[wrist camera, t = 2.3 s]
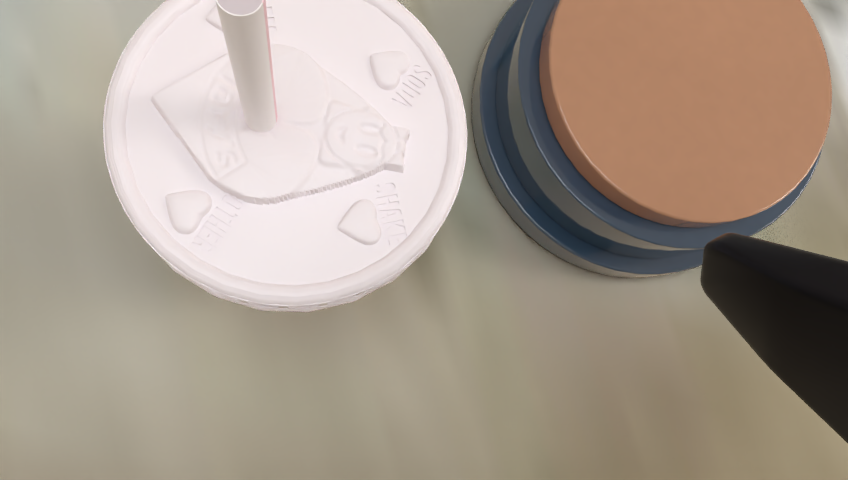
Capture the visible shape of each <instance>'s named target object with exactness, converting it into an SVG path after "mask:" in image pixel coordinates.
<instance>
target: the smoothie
mask: <svg viewBox="0 0 848 480" xmlns="http://www.w3.org/2000/svg"><path fill="white" fill-rule="evenodd" d="M103 142H104V150H105V157H106V162H107V166H108V171H109V175H110V178H111V181H112V184H113V186H114V189H115V192H116V195H117V197H118V199H119V201H120V203H121V205H122V207H123V209H124V211H125V213H126V214H127V216H128V217H129V219H130V221H131V222H132V224H133V225H134V227H135V228H136V229H137V231H138V232H139V233H140V235H141V236H142V237H143V238H144V240H145V241H146V242H147V243H148V244H149V245H150V246H151V247H152V248H153V249H154V250H155V251H156V252H157V254H158V255H159V256H160V257H161V258H162V259H163V260H164V261H165V262H166V263H167V264H168V265H169V266H170V267H171V269H172V270H173V271H174V272H176V273H177V274H179V275H181V276H182V277H184V278H185V279H187V280H189V281H190V282H192V283H194V284H195V285H197V286H198V287H200V288H202V289H203V290H205V291H206V292H208V293H210V294H211V295H213V296H215V297H217V298H221V299H224V300H227V301H231V302H234V303H237V304H241V305H244V306H247V307H251V308H254V309H257V310H261V311H287V312H312V311H316V310H320V309H325V308H329V307H333V306H338V305H342V304H346V303H351V302H354V301H356V300H358V299H360V298H362V297H364V296H366V295H368V294H370V293H371V292H373V291H375V290H377V289H379V288H381V287H383V286H385V285H387V284H388V283H390V282H392V281H394V280H395V279H396V278H397V277H398V276H399V275H400V274H401V273H403V272H404V271H405V270H406V269H407V268H408V267H409V266H410V265H411V264H412V263H413V262H414V261H415V260H416V259H417V258H419V257H420V256H421V255H422V254H423V253H424V252H425V251H426V250H427V248H428V246H429V245H430V243H431V241H432V240H433V238H434V237H435V235H436V233H437V232H438V230H439V229H440V227H441V226H442V224H443V223H444V221H445V219H446V217H447V216H448V214H449V212H450V210H451V208H452V206H453V203H454V201H455V199H456V196H457V194H458V191H459V187H460V184H461V181H462V177H463V172H464V167H465V162H466V152H467V125H466V115H465V109H464V104H463V100H462V96H461V92H460V89H459V86H458V83H457V80H456V78H455V75H454V73H453V70H452V68H451V66H450V64H449V62H448V60H447V58H446V57H445V55H444V53H443V51H442V50H441V48H440V47H439V45H438V44H437V42H436V41H435V39H434V38H433V37H432V35H431V34H430V33H429V31H428V30H427V29H426V28H425V26H424V25H423V24H422V23H421V22H420V21H419V20H418V19H417V18H416V17H415V16H414V15H413V14H412V13H411V12H410V11H409V10H407V9H406V8H405V7H404V6H403V5H402V4H401V3H399V2H398V1H396V0H166V1H165V2H164V3H162V4H161V5H160V6H159V7H158V8H157V9H156V10H155V11H154V12H153V13H151V14H150V15H149V17H148V18H147V19H146V20H145V21H144V22H143V23H142V24H141V26H140V27H139V28H138V29H137V31H136V32H135V33H134V35H133V36H132V38H131V39H130V40H129V42H128V44H127V45H126V47H125V49H124V51H123V52H122V54H121V56H120V58H119V60H118V63H117V65H116V67H115V70H114V72H113V75H112V78H111V81H110V84H109V88H108V92H107V97H106V102H105V107H104V119H103Z"/></svg>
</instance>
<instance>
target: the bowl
mask: <svg viewBox="0 0 848 480" xmlns="http://www.w3.org/2000/svg"><path fill="white" fill-rule="evenodd" d="M831 106H832V86H831V75H830V69H829V64H828V60H827V55H826V52H825V49H824V46H823V43H822V40H821V37H820V35H819V32H818V30H817V28H816V26H815V24H814V22H813V19H812V18H811V16H810V14H809V13H808V11H807V9H806V8H805V6H804V5H803V3H802V2H801V0H516V1H515V2H514V3H513V5H512V6H511V7H510V8H509V9H508V11H507V12H506V13H505V15H504V16H503V18H502V20H501V21H500V23H499V24H498V26H497V28H496V29H495V31H494V33H493V34H492V36H491V37H490V39H489V41H488V42H487V44H486V47H485V49H484V51H483V54H482V56H481V58H480V61H479V64H478V68H477V72H476V75H475V79H474V85H473V93H472V126H473V134H474V141H475V145H476V149H477V152H478V156H479V160H480V163H481V165H482V168H483V170H484V173H485V175H486V177H487V180H488V182H489V184H490V186H491V188H492V189H493V191H494V193H495V195H496V196H497V198H498V200H499V201H500V203H501V204H502V205H503V207H504V208H505V210H506V211H507V212H508V214H509V215H510V216H511V218H512V219H513V220H514V221H515V222H516V223H517V224H518V225H519V226H520V227H521V228H522V229H523V230H524V231H525V232H526V233H527V234H528V235H529V236H530V237H531V238H532V239H534V240H535V241H536V242H537V243H539V244H540V245H541V246H542V247H544V248H545V249H547V250H548V251H550V252H551V253H553V254H555V255H556V256H558V257H559V258H561V259H563V260H565V261H567V262H569V263H572V264H574V265H576V266H578V267H580V268H583V269H586V270H590V271H593V272H596V273H599V274H603V275H610V276H616V277H623V278H645V277H654V276H662V275H667V274H672V273H677V272H681V271H685V270H688V269H692V268H696V267H699V266H701V265H702V260H703V251H704V247H705V245H706V244H707V243H708V242H710V241H712V240H713V239H715V238H717V237H719V236H721V235H723V234H725V233H737V234H741V235H745V236H749V237H750V236H752V235H754V234H756V233H758V232H760V231H761V230H763V229H764V228H766V227H768V226H769V225H771V224H772V223H773V222H775V221H776V220H777V219H778V218H779V217H780V216H782V215H783V214H784V213H785V212H786V211H787V210H788V209H789V208H790V207H791V206H792V204H793V203H794V202H795V201H796V200H797V199H798V197H799V196H800V195H801V193H802V192H803V190H804V189H805V187H806V185H807V184H808V182H809V181H810V179H811V177H812V175H813V172H814V170H815V168H816V166H817V163H818V161H819V158H820V154H821V151H822V147H823V144H824V141H825V138H826V134H827V131H828V127H829V121H830V115H831Z"/></svg>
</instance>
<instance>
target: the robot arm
mask: <svg viewBox="0 0 848 480" xmlns="http://www.w3.org/2000/svg"><path fill="white" fill-rule="evenodd" d="M701 285H702V288H703V290H704V292H705V293H706V295H707V296H708V297H709V298H710V300H711V301H712V302H713V303H714V304H715V305H716V307H717V308H718V309H719V310H720V311H721V312H722V314H723V315H724V316H725V317H726V318H727V319H728V321H729V322H730V323H731V324H732V325H733V327H734V328H735V329H736V330H737V331H738V332H739V334H740V335H741V336H742V337H743V338H744V339H745V341H746V342H747V343H748V344H749V345H750V346H751V348H752V349H753V350H754V351H755V352H756V353H757V355H758V356H759V357H760V358H761V359H762V360H763V361H764V362H765V363H766V365H767V366H768V367H769V368H770V369H771V370H772V371H773V372H774V373H775V374H776V375H777V376H778V377H779V378H780V379H781V380H782V381H783V382H784V383H785V384H786V385H787V386H788V387H789V388H791V389H792V390H793V391H794V392H795V393H796V394H797V395H798V396H799V397H800V398H801V399H802V400H803V401H804V402H805V403H806V404H807V405H808V406H809V407H810V408H811V409H813V410H814V411H815V412H816V413H817V414H818V415H819V416H820V417H821V418H822V419H823V420H824V421H825V422H826V423H827V424H828V425H829V426H830V427H831V428H832V429H833V430H835V431H836V432H837V433H838V434H839V435H840V436H841V437H842V438H843V439H844V440H845V441H846V442H847V443H848V261H844V260H840V259H836V258H832V257H828V256H824V255H820V254H816V253H812V252H808V251H804V250H800V249H796V248H792V247H788V246H784V245H780V244H776V243H772V242H769V241H765V240H761V239H757V238H753V237H749V236H745V235H741V234H737V233H725V234H723V235H721V236H719V237H717V238H715V239H713V240H712V241H710V242H708V243H707V244H706V245H705V247H704V251H703V260H702V269H701Z"/></svg>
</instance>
